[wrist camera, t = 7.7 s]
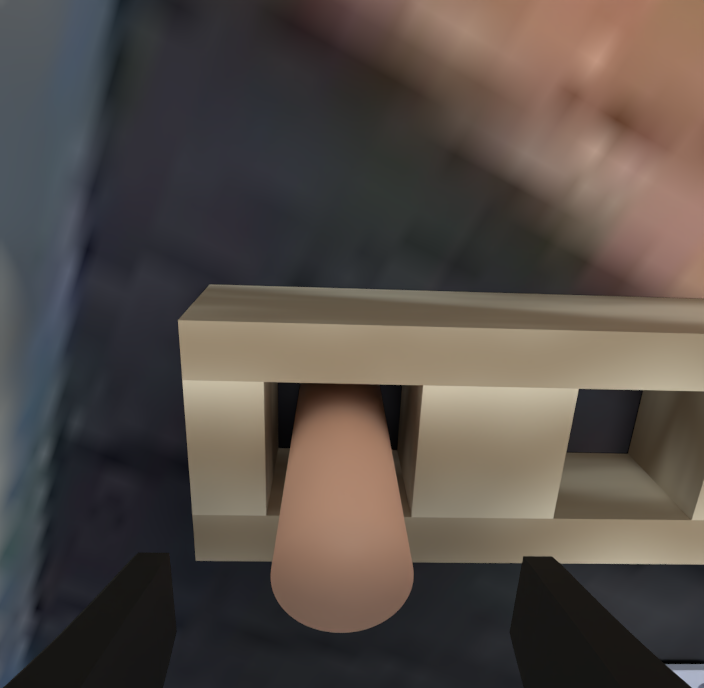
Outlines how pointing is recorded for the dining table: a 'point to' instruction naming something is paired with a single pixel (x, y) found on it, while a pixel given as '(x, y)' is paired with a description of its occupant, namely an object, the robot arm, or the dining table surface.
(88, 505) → the dining table surface
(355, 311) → the hole block
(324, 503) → the peg
